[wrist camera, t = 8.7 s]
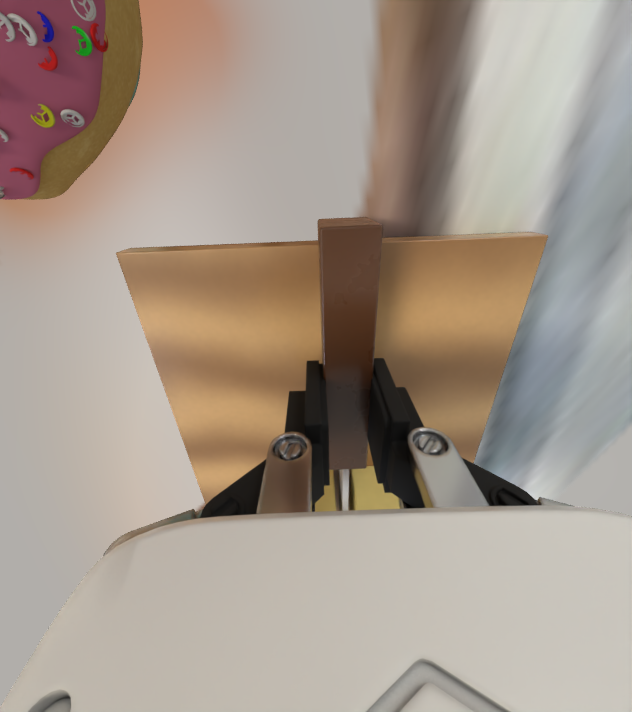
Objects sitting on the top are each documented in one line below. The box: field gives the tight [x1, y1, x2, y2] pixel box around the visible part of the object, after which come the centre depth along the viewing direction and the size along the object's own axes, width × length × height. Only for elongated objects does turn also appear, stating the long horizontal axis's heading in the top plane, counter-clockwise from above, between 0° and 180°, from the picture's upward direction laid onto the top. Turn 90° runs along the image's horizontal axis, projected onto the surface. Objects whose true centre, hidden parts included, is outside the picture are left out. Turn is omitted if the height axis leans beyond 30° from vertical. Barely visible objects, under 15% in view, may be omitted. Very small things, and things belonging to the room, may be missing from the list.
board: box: [116, 232, 548, 511], centre depth 17 cm, size 22×16×1 cm
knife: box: [318, 217, 383, 511], centre depth 14 cm, size 20×2×3 cm, turn 2°
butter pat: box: [315, 470, 336, 512], centre depth 16 cm, size 4×2×3 cm, turn 2°
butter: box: [350, 466, 400, 510], centre depth 16 cm, size 4×6×3 cm, turn 92°
